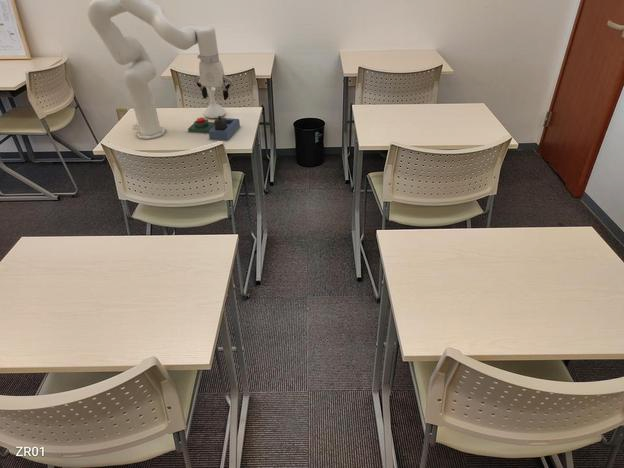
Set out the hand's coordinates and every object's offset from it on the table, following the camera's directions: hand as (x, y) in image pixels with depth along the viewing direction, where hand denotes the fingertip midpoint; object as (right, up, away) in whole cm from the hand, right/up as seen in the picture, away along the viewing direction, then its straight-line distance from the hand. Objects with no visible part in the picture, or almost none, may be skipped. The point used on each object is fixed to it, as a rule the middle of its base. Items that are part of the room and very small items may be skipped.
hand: (215, 98), depth 211 cm
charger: (+1, -15, +10) cm, 18 cm away
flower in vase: (-7, -1, +30) cm, 31 cm away
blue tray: (+2, -13, +13) cm, 18 cm away
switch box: (-10, -9, +18) cm, 23 cm away
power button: (-10, -7, +16) cm, 20 cm away
